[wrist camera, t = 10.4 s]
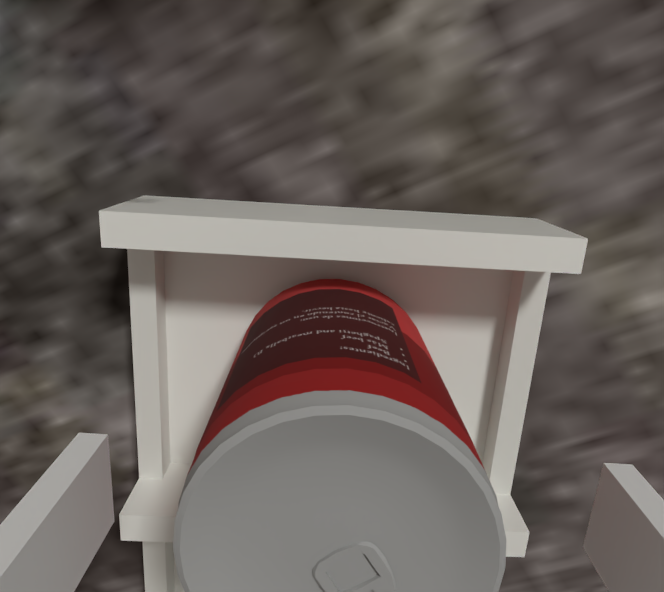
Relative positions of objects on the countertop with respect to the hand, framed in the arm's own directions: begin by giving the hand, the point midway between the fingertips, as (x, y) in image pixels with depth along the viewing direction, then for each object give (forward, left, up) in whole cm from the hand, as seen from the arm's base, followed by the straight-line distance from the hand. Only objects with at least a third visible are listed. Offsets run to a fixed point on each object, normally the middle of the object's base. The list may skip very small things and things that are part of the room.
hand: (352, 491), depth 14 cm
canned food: (0, 0, -9) cm, 9 cm away
